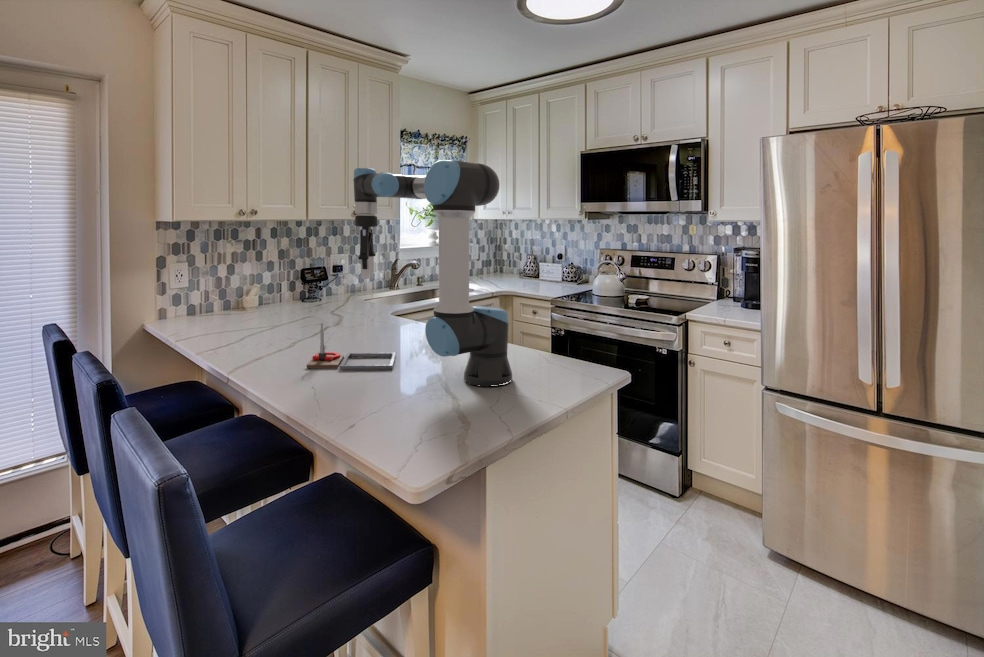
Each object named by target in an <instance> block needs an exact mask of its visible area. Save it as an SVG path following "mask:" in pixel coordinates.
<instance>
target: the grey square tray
mask: <svg viewBox="0 0 984 657" xmlns="http://www.w3.org/2000/svg"><path fill="white" fill-rule="evenodd" d="M350 357H377V358H391V359H390V363H389V364H348V363H349V361H350V359H351V358H350ZM396 357H397V352H347V353H346V355H345V356H344V360H343V361H342V363H341V364H340V366H339V371H340V370H343V371H393V370H394V366H395V362H396V359H397V358H396ZM348 360H349V361H348ZM347 362H348V363H347Z"/></svg>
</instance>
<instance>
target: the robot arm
mask: <svg viewBox="0 0 984 657" xmlns="http://www.w3.org/2000/svg"><path fill="white" fill-rule="evenodd" d="M352 180H353V196H354V199H353V200H354V204H353V205H352V208H354V214H356V215H355V216H354V225H355V227H358V228H359V227H362V228H361V229H360V230H359V235H360V236H359V237H360V239H359V240H360V242H359V244H360V246H359V256H357V258H358V260H360V278H361V280H365V279H366V280H368V279H369V280H370V277H371V276H373V275H375V266H374V263H375V261H374V260H375V259H374V257H376V253H375V250H374V238H373V237H374V232H373V229H372V228H375V227H378V216H377V214H378V198H394V199H395V198H396V199H399V198H400V199H413V200H414V199H415V200H427V202H429V203H430V205H432V207H433V208H432V212H433V213H434V214H435V216H437V218H438V304H437V305H436V306H435V307H433V316H432V317H430V318H429V319H428V320H427V323H426V324H425V328H424V332H425V338H426V341H427V343H428V345H429V347H430V348H431V351H433V352H434V353H435V354H436V355H438V356H439V357H445V358H446V357H455V356H459V355H463V354H467V353H468V354H469V357H468V360H467V363H466V366H465V369H464V373H463V381H464V380H465V381H466V382H467V383H466V382H465V381H464V382H465V383H466V384H468V383H470V384H469V385H471V384H473V385H472V386H474V385H480V386H491V385H499V384H503V383H506V382H509V381H510V380H511V379H512V380H513V372H512V369H511V364H510V361H509V359H508V344H509V324H510V322H509V313H508V311H506V310H505V309H502V308H497V307H491V306H484V305H482V306H481V305H471V304H470V234H471V233H470V230H471V229H470V227H471V226H470V225H471V224H470V223H471V222H470V220H471V218H472V216H474V214H475V213H476V207H479V206H486V205H488V204H490V203H492V202H493V201H494V200H495V199H496V197H497V195H498V194H499V191H500V180H499V176H498V175H497V172H495V170H494V169H493V168H491V167H490V166H489V165H486V164H484V163H475V162H471V161H468V162H467V161H461V160H455V159H440V160H438V161H435V162H434V163H433V164H432V165H431V166H430V168H429V169H428V171H427V172H426V174H425V175H406V174H405V175H404V174H403V175H402V174H394V173H390V172H379V173H377V171H376V169H374V168H369V167H362V168H361V167H357V168H355V169H354V170H353V179H352ZM371 227H372V228H371ZM370 275H371V276H370ZM480 386H479V387H480Z"/></svg>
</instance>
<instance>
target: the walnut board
mask: <svg viewBox="0 0 984 657" xmlns="http://www.w3.org/2000/svg"><path fill="white" fill-rule="evenodd" d="M344 358H345V355H340V357H339V358H335V359H332V361H327V360H326V361H321V360H313V357H311V359H310V361H309V362H308V363H307V364H306V369H307V368H331V369H339V368H340V366H339V365H341V362H342V361H343V359H344ZM338 367H339V368H338Z"/></svg>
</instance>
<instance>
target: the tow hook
mask: <svg viewBox="0 0 984 657" xmlns="http://www.w3.org/2000/svg"><path fill="white" fill-rule="evenodd" d="M319 333H320V334H319V335H320V336H319V341H320V342H319V343H320V345H319V352H317V353H315V355H313V356H312V358H313V360H321V361H326V360H327V361H332V359H335V358H339V357H340V356H341V354H340V353H339V352H334V351H326V346H325V329H324V323H323V322H320V329H319Z"/></svg>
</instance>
